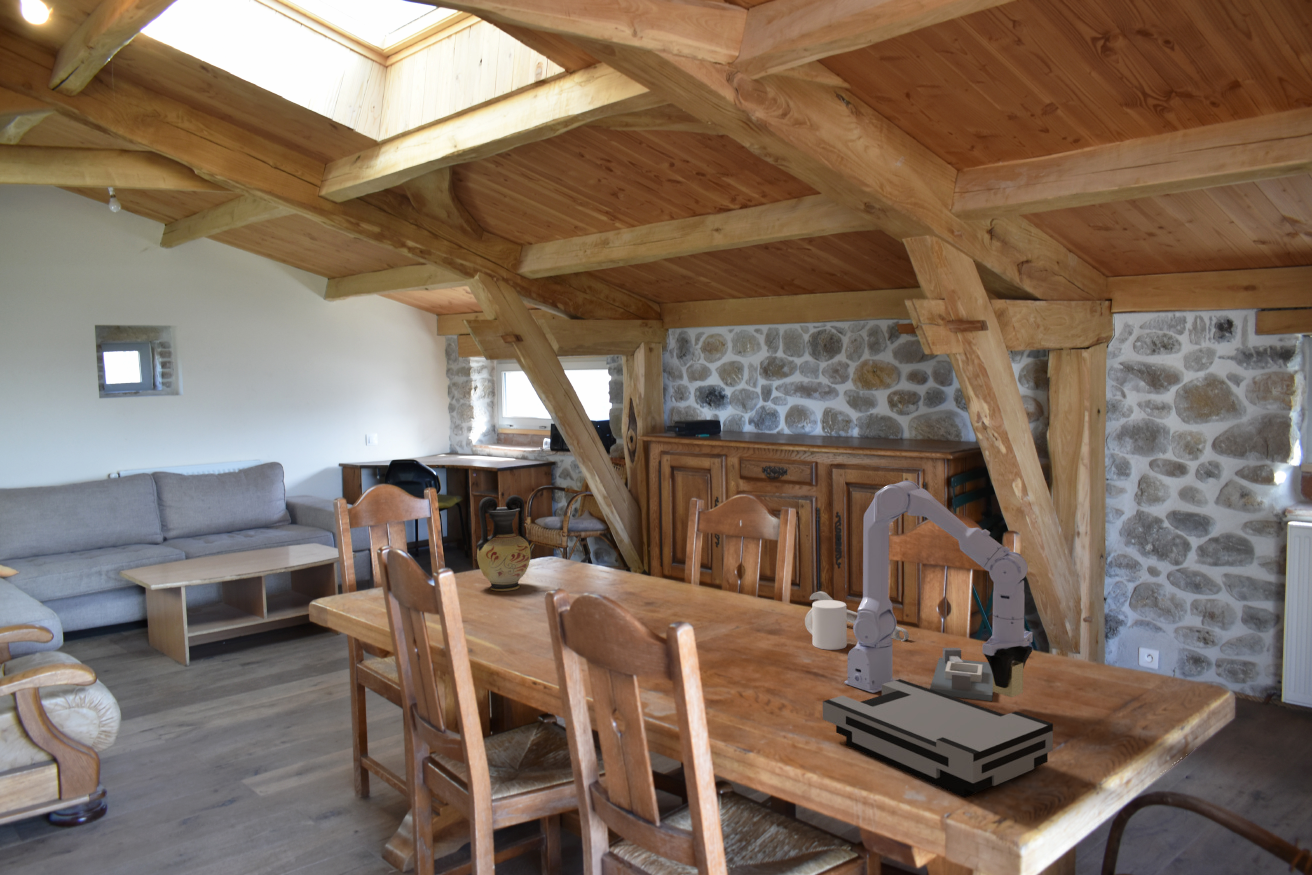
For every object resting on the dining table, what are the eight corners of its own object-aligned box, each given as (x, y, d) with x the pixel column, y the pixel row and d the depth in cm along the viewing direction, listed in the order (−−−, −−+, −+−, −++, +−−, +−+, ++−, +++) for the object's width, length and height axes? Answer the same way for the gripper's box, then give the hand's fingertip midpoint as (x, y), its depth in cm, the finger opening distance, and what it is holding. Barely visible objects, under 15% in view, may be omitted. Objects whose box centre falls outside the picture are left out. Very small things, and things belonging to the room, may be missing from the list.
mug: (829, 609, 210) (794, 600, 220) (829, 652, 211) (795, 640, 221) (853, 604, 215) (818, 595, 225) (853, 645, 216) (818, 635, 225)
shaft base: (992, 700, 177) (992, 680, 176) (929, 693, 181) (929, 673, 181) (995, 668, 197) (995, 649, 197) (939, 662, 202) (939, 644, 201)
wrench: (903, 653, 219) (807, 617, 241) (907, 651, 220) (811, 616, 242) (906, 622, 218) (810, 589, 240) (910, 621, 219) (814, 588, 241)
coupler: (1011, 697, 169) (1012, 663, 169) (992, 691, 173) (993, 658, 172) (1022, 692, 172) (1023, 659, 171) (1004, 687, 175) (1004, 654, 175)
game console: (899, 713, 171) (899, 672, 171) (1052, 771, 145) (1052, 723, 144) (822, 738, 160) (822, 694, 160) (973, 806, 133) (973, 753, 133)
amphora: (514, 579, 297) (512, 491, 295) (541, 587, 284) (539, 495, 282) (467, 587, 286) (465, 496, 284) (493, 596, 273) (491, 500, 271)
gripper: (1006, 626, 164) (1005, 697, 165) (1047, 613, 173) (1046, 681, 173) (972, 618, 169) (972, 687, 170) (1014, 606, 178) (1013, 672, 179)
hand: (1007, 683), depth 172 cm, fingers closed on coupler, 4 cm apart
